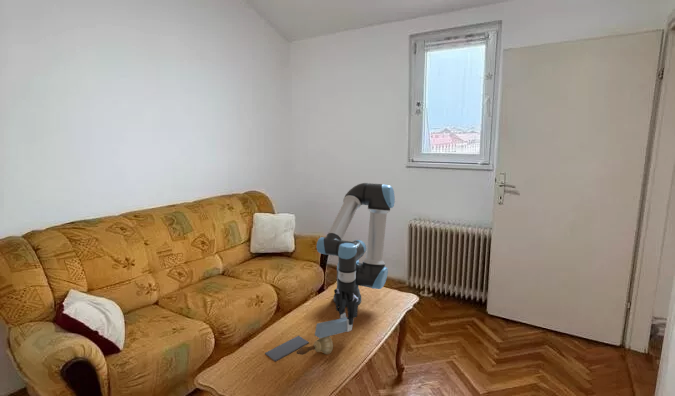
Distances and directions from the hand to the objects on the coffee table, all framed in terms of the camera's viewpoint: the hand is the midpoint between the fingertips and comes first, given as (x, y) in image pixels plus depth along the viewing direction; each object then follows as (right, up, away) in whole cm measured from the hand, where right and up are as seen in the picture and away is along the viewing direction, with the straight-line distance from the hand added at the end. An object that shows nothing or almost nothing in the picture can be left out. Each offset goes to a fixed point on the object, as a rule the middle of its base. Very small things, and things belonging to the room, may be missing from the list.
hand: (346, 328), depth 163 cm
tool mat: (-25, -7, -5) cm, 27 cm away
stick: (-5, 0, -6) cm, 8 cm away
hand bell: (-8, -3, -8) cm, 12 cm away
